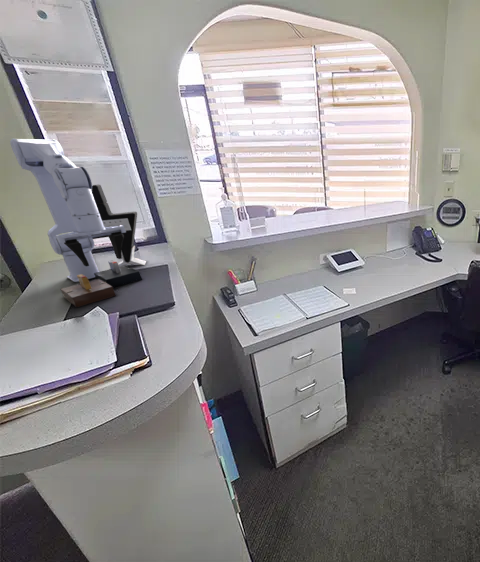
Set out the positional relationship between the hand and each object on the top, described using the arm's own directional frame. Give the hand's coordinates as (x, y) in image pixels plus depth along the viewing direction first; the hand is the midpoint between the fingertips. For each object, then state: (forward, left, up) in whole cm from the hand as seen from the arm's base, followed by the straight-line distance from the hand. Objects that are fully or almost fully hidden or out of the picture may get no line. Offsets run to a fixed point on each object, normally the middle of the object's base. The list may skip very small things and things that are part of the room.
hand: (103, 261), depth 89 cm
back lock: (-13, +5, -7) cm, 16 cm away
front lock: (-4, -5, -7) cm, 10 cm away
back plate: (-13, +5, -10) cm, 17 cm away
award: (-30, +13, -10) cm, 34 cm away
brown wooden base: (-4, -5, -10) cm, 12 cm away
